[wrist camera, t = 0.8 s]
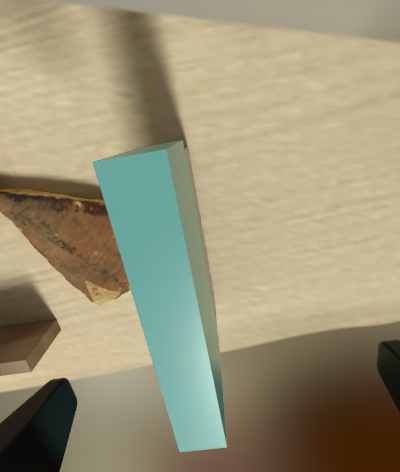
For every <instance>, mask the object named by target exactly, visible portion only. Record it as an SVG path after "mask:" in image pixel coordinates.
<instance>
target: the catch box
mask: <svg viewBox="0 0 400 472" xmlns="http://www.w3.org/2000/svg"><path fill="white" fill-rule="evenodd" d="M60 331H61V329H60V327H59V325H58V323H57V320H51V321H44V322H37V323H30V324H23V325H16V326H8V327H1V328H0V376H2V375H10V374H18V373H26V372H32V370H33V369H34V368H35V366H36V365H37V363H38V362H39V360H40V359H41V358H42V356H43V355H44V353H45V352H46V350H47V349H48V348H49V346H50V345H51V343H52V342H53V341H54V339H55V338H56V336H57V335H58V333H59V332H60Z"/></svg>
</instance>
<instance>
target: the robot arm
mask: <svg viewBox="0 0 400 472" xmlns="http://www.w3.org/2000/svg"><path fill="white" fill-rule="evenodd" d="M377 369H378V372H379V375H380V377H381V378H382V381H383V382H384V384H385V386H386V388H387V390H388V392H389V394H390V396H391V398H392V400H393V402H394V404H395V406H396V408H397V410H398V412H399V414H400V340H397V339H391V340H383V341H380V342H379V344H378V355H377ZM76 408H77V398H76V396H75V393H74V391H73V389H72V387H71V385H70V383H69V381H68V379H66V378H59V379H53V380H50V381H49V382H48V383H46V384H45V385H44V386H43V387H42V388H41V389H40V390H38V391H37V392H36V393H35V394H34V395H33V396H31V397H30V398H29V399H28V400H27V401H26V402H25V403H24V404H22V405H21V406H20V407H19V408H17V409H16V410H15V411H14V412H13V413H12V414H11V415H9V416H8V417H7V418H6V419H5V420H4V421H2V422H1V423H0V472H59V471H60V468H61V464H62V461H63V457H64V453H65V450H66V446H67V442H68V438H69V434H70V431H71V427H72V423H73V419H74V415H75V411H76Z"/></svg>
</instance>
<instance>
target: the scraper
mask: <svg viewBox="0 0 400 472" xmlns="http://www.w3.org/2000/svg"><path fill="white" fill-rule="evenodd" d="M93 165H94V168H95V172H96V175H97V178H98V182H99V185H100V188H101V192H102V195H103V198H104V202H105V205H106V208H107V212H108V215H109V218H110V222H111V225H112V228H113V232H114V235H115V238H116V242H117V245H118V248H119V252H120V255H121V258H122V262H123V265H124V268H125V272H126V275H127V278H128V282H129V285H130V288H131V292H132V295H133V298H134V301H135V305H136V308H137V311H138V315H139V318H140V321H141V325H142V328H143V331H144V335H145V338H146V341H147V345H148V348H149V351H150V355H151V358H152V361H153V365H154V368H155V371H156V375H157V378H158V381H159V384H160V388H161V391H162V394H163V398H164V401H165V405H166V408H167V411H168V414H169V418H170V421H171V424H172V428H173V431H174V435H175V438H176V441H177V444H178V448H179V451H180V452H186V451H195V450H205V449H215V448H225V447H227V441H226V428H225V416H224V402H223V390H222V377H221V366H220V352H219V339H218V332H217V321H216V308H215V299H214V293H213V287H212V282H211V276H210V270H209V265H208V259H207V253H206V247H205V242H204V236H203V230H202V225H201V219H200V213H199V208H198V202H197V196H196V191H195V185H194V179H193V174H192V168H191V162H190V157H189V151H188V147H184V145H183V140H179V141H174V142H168V143H162V144H157V145H151V146H146V147H141V148H138V149H134V150H131V151H128V152H125V153H121V154H118V155H115V156H111V157H108V158H105V159H102V160H98V161H95V162H93Z"/></svg>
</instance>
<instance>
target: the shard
mask: <svg viewBox="0 0 400 472" xmlns="http://www.w3.org/2000/svg"><path fill="white" fill-rule="evenodd" d="M0 212H1V213H2V214H4V215H5V216H6V217H7V218H9V219H10V220H11V221H12V222H13V223H14V225H15V226H16V227H17V228H18V229H19V230H20V231H21V232H22V233H23V234H24V236H25V237H26V238H27V239H28V240H29V242H30V243H31V244H32V245H33V246H34V247H35V249H36V250H37V251H38V252H39V253H41V254H42V255H43V256H44V257H45V258H46V259H47V260H48V262H49V263H50V264H51V265H52V266H53V267H54V268H55V269H56V270H57V271H58V272H60V273H61V274H62V275H63V276H64V277H65V279H66V280H67V281H68V282H69V283H71V284H72V285H73V286H74V287H75V288H76V289H78V290H80V291H81V292H82V293H84V294H85V295H86V296H87V297H88V298H89V300H90V301H91V302H93V303H94V304H97V305H103V304H106V303H108V302H110V301H112V300H115V299H117V298H119V297H120V296H121V295H123V294H124V293H126V292H128V291H129V290H130V289H131V288H130V285H129V282H128V278H127V275H126V272H125V268H124V265H123V262H122V258H121V255H120V252H119V248H118V245H117V242H116V238H115V235H114V232H113V228H112V225H111V222H110V218H109V215H108V212H107V208H106V205H105V202H104V199H84V198H78V197H74V196H69V195H64V194H55V193H50V192H41V191H38V190H33V189H8V188H5V189H0Z"/></svg>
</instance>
